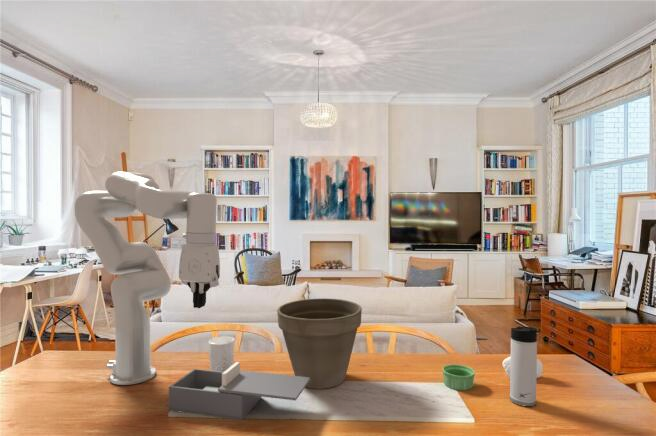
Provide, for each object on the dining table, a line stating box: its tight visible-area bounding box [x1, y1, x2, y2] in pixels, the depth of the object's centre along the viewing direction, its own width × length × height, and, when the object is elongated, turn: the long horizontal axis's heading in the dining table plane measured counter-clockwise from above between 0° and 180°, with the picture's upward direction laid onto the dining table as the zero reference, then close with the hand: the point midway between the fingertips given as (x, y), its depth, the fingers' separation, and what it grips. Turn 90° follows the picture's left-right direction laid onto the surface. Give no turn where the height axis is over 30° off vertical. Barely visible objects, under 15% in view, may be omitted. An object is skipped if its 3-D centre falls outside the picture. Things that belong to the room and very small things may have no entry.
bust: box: [502, 344, 544, 379], centre depth 127 cm, size 12×8×11 cm
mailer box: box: [168, 368, 263, 421], centre depth 108 cm, size 20×12×6 cm, turn 76°
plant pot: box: [276, 297, 363, 390], centre depth 124 cm, size 25×25×22 cm
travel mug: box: [509, 326, 538, 407], centre depth 109 cm, size 6×7×20 cm
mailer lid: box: [218, 361, 310, 401], centre depth 105 cm, size 20×12×4 cm, turn 76°
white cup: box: [208, 335, 236, 372], centre depth 129 cm, size 8×8×10 cm
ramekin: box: [441, 363, 476, 391], centre depth 120 cm, size 9×9×4 cm
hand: (199, 306), depth 112 cm, fingers closed
